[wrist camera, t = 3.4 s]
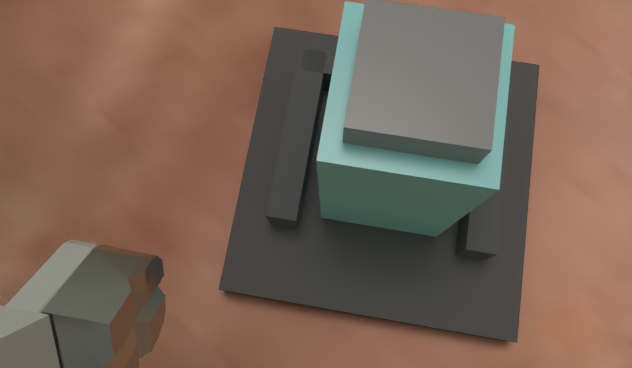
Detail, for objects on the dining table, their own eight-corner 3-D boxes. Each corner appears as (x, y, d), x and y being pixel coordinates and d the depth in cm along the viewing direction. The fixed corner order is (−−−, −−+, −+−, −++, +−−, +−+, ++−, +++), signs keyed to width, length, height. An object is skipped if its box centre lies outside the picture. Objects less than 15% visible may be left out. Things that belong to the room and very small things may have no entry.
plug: (321, 217, 18) (315, 146, 11) (339, 111, 19) (346, -25, 12) (436, 236, 18) (514, 177, 10) (449, 128, 19) (530, 0, 11)
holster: (224, 290, 19) (209, 286, 17) (277, 40, 21) (270, 4, 19) (507, 340, 18) (534, 344, 16) (529, 76, 21) (556, 44, 18)
